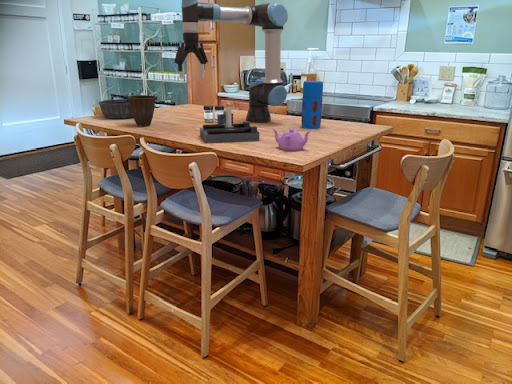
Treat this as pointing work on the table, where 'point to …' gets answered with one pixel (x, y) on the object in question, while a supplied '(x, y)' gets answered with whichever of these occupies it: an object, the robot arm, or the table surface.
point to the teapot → (291, 140)
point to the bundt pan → (116, 108)
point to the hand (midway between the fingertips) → (192, 77)
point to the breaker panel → (229, 133)
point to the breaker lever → (228, 114)
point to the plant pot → (142, 109)
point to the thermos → (312, 104)
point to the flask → (223, 118)
